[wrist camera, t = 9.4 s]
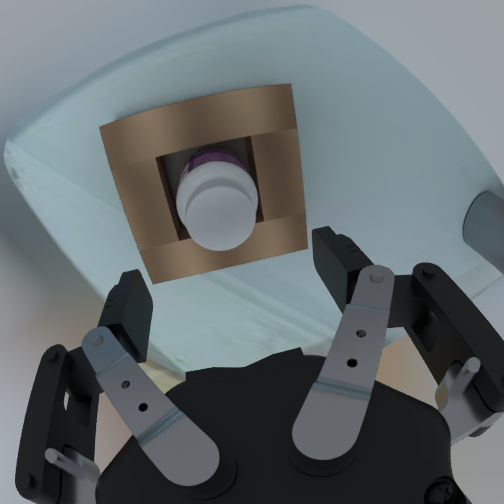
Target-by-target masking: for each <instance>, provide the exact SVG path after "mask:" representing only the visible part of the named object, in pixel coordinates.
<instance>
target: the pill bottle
mask: <svg viewBox="0 0 504 504" xmlns="http://www.w3.org/2000/svg"><path fill="white" fill-rule="evenodd" d="M176 205H177V211H178V215H179V217H180V219H181V221H182V223H183V224H184V225H185V227H186V228H187V231H188V233H189V235H190V236H191V238H192V239H193V240H194V241H195V242H196V243H197V244H199V245H200V246H202V247H204V248H206V249H209V250H214V251H225V250H229V249H233V248H235V247H237V246H239V245H240V244H242V243H243V242H244V241H245V240H246V239H247V238H248V237H249V236H250V234H251V233H252V231H253V228H254V225H255V220H256V210H257V205H258V195H257V190H256V186H255V184H254V182H253V180H252V178H251V177H250V175H249V174H248V172H247V171H246V169H245V168H244V166H243V165H242V163H241V162H240V160H239V159H238V158H237V156H236V155H235V154H234V153H232V152H231V151H229V150H227V149H225V148H222V147H218V146H209V147H205V148H202V149H199V150H197V151H196V152H194V153H193V154H192V155H191V156H190V157H189V158H188V159H187V161H186V162H185V164H184V167H183V170H182V173H181V177H180V182H179V187H178V192H177V198H176Z"/></svg>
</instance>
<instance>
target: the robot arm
mask: <svg viewBox="0 0 504 504" xmlns="http://www.w3.org/2000/svg"><path fill="white" fill-rule="evenodd" d="M463 235H464V240H465V242H466V243H467V244H468V245H469V246H470V247H472V248H473V249H474V250H475V251H477V252H478V253H479V254H480V255H481V256H483V257H484V258H485V259H486V260H487V261H489V262H490V263H491V264H492V265H493V266H494V267H496V268H497V269H498V270H499V271H500V272H501V273H502V274H504V200H503V199H501V198H499V197H497V196H496V195H494V194H492V193H490V192H484V193H482V194H481V195H480V196H478V197H477V198H476V200H475V201H474V202H473V204H472V206H471V207H470V209H469V211H468V214H467V217H466V220H465V224H464V230H463ZM312 244H313V260H314V265H315V268H316V271H317V272H318V274H319V276H320V277H321V279H322V281H323V282H324V284H325V286H326V287H327V289H328V290H329V292H330V294H331V295H332V297H333V299H334V300H335V302H336V304H337V306H338V307H339V309H340V311H341V312H342V314H343V316H342V318H341V321H340V324H339V327H338V329H337V332H336V335H335V337H334V340H333V343H332V345H331V348H330V350H329V353H328V355H327V357H324V356H318V355H303V352H302V350H301V347H299V348H295V349H291V350H288V351H284V352H280V353H276V354H272V355H270V356H268V357H266V358H264V359H261V360H259V361H257V362H255V363H253V364H250V365H248V366H246V367H241V368H230V367H212V368H206V369H201V370H195V371H189V372H186V381H184V382H182V383H180V384H178V385H176V386H175V387H173V388H171V389H170V390H169V391H168V392H166V393H165V394H164V393H163V392H162V391H161V390H160V389H159V388H158V387H157V386H156V385H155V384H154V382H153V381H152V380H151V379H150V378H149V377H148V376H147V374H146V373H145V372H144V371H143V370H142V369H141V367H140V366H139V365H138V364H137V363H142V362H146V357H147V349H148V341H149V333H150V326H151V319H152V312H153V301H152V297H151V295H150V293H149V290H148V288H147V286H146V284H145V281H144V279H143V277H142V275H141V272H140V271H139V270H138V269H136V270H131V271H127V272H123V273H122V275H121V278H120V281H119V283H118V285H115V286H114V287H113V288H112V290H111V291H110V292H109V294H108V297H107V299H106V302H105V305H104V308H103V311H102V314H101V317H100V320H99V323H98V326H97V327H96V328H94V329H92V330H90V331H89V332H88V333H87V334H86V335H85V336H84V338H83V340H82V344H81V345H82V346H81V347H78V348H76V349H74V350H71V351H69V352H68V351H67V350H66V349H65V347H64V346H63V345H59V344H57V345H54V346H52V347H50V348H49V349H47V350H46V352H45V353H44V354H43V356H42V358H41V362H40V364H39V367H38V371H37V374H36V377H35V381H34V384H33V388H32V391H31V395H30V399H29V403H28V407H27V411H26V415H25V419H24V425H23V429H22V434H21V440H20V445H19V452H18V458H17V465H16V474H15V484H16V488H17V490H18V492H19V494H20V495H22V497H24V498H26V499H28V500H30V501H32V502H34V503H37V504H472V503H471V502H470V500H469V499H468V498H467V497H466V496H465V495H464V493H463V492H462V491H461V489H460V488H459V487H458V485H457V484H456V482H455V480H454V477H453V473H452V468H451V459H450V458H451V454H450V451H451V446H452V445H453V444H455V443H457V442H458V441H460V440H462V439H464V438H465V437H467V436H470V437H476V436H480V435H481V434H483V433H484V432H485V431H486V430H487V429H488V428H489V427H491V426H492V425H493V424H494V423H495V422H496V421H497V420H498V419H499V418H500V417H501V416H502V415H503V414H504V341H503V339H502V338H501V337H500V335H499V334H498V333H497V332H496V331H495V329H494V328H493V326H492V325H491V324H490V323H489V321H488V320H487V319H486V318H485V317H484V315H483V314H482V313H481V312H480V311H479V309H478V308H477V307H476V306H475V305H474V304H473V302H472V301H471V300H470V299H469V298H468V297H467V296H466V294H465V293H464V292H463V291H462V290H461V289H460V288H459V287H458V286H457V284H456V283H455V282H454V281H453V280H452V279H451V278H450V277H449V276H448V275H447V274H446V273H445V272H444V271H443V270H442V269H441V268H440V267H439V266H437V265H435V264H432V263H419V264H417V265H416V266H415V267H414V268H413V273H412V275H394V273H393V272H392V271H391V270H390V269H389V268H387V267H384V266H381V265H374V264H373V263H372V261H371V260H370V259H369V258H368V257H367V256H366V255H365V254H364V253H363V251H362V250H360V248H359V247H358V246H357V245H356V244H355V243H354V242H353V241H352V240H351V239H350V238H349V237H347V236H345V235H342V234H339V235H336V234H335V232H334V231H333V230H332V229H331V228H330V227H329V226H326V227H321V228H317V229H313V230H312ZM435 316H436V317H435ZM437 319H438V320H437ZM394 327H404V329H405V330H406V332H407V333H408V335H409V337H410V338H411V340H412V341H413V343H414V345H415V346H416V348H417V350H418V351H419V353H420V355H421V356H422V358H423V360H424V361H425V363H426V365H427V366H428V368H429V370H430V372H431V373H432V375H433V377H434V379H435V380H436V382H437V384H438V388H437V390H436V393H435V399H436V403H437V406H438V410H437V409H436V408H434V407H433V406H431V405H429V404H427V403H424V402H422V401H420V400H417V399H415V398H413V397H411V396H409V395H407V394H404V393H402V392H400V391H398V390H396V389H393V388H391V387H389V386H387V385H385V384H382V383H380V382H379V381H376V380H375V377H376V373H377V370H378V366H379V362H380V357H381V353H382V349H383V344H384V339H385V335H386V330H387V328H394ZM65 392H67V393H68V394H69V398H68V405H67V410H65V407H64V397H65ZM103 392H105V394H106V395H107V397H108V398H109V400H110V401H111V403H112V404H113V406H114V408H115V409H116V411H117V412H118V413H119V415H120V416H121V418H122V419H123V421H124V422H125V424H126V425H127V426H128V428H129V429H130V431H131V432H132V433H133V435H132V436H131V437H130V438H129V440H128V441H127V442H126V444H125V445H124V446H123V447H122V449H121V450H120V451H119V452H118V454H117V455H116V456H115V457H114V459H113V460H112V461H111V462H110V464H109V465H108V466H107V467H106V469H105V470H104V471H103V472H102V474H101V475H100V470H99V468H98V466H97V465H96V464H95V463H94V453H95V434H96V422H97V411H98V402H99V394H100V393H103Z"/></svg>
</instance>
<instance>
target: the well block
mask: <svg viewBox="0 0 504 504" xmlns="http://www.w3.org/2000/svg"><path fill="white" fill-rule="evenodd" d="M99 129H100V133H101V136H102V140H103V144H104V148H105V151H106V155H107V158H108V162H109V165H110V168H111V172H112V175H113V178H114V181H115V185H116V188H117V191H118V194H119V197H120V200H121V203H122V206H123V209H124V212H125V214H126V217H127V220H128V223H129V226H130V228H131V231H132V234H133V236H134V239H135V242H136V244H137V247H138V249H139V252H140V255H141V257H142V260H143V262H144V265H145V267H146V269H147V272H148V274H149V277H150V279H151V281H152V284H157V283H162V282H166V281H170V280H175V279H179V278H184V277H188V276H192V275H197V274H201V273H206V272H210V271H214V270H219V269H223V268H227V267H232V266H236V265H240V264H244V263H249V262H253V261H257V260H262V259H266V258H270V257H274V256H279V255H283V254H287V253H291V252H295V251H300V250H304V249H308V242H307V227H306V214H305V201H304V190H303V179H302V169H301V159H300V150H299V141H298V133H297V125H296V117H295V109H294V102H293V95H292V88H291V84H281V85H271V86H263V87H255V88H248V89H242V90H236V91H230V92H224V93H219V94H213V95H208V96H204V97H199V98H194V99H190V100H186V101H182V102H177V103H174V104H170V105H166V106H162V107H159V108H155V109H151V110H148V111H145V112H141V113H138V114H135V115H132V116H129V117H126V118H123V119H120V120H117V121H114V122H111V123H108V124H106V125H103V126H100V127H99ZM209 146H218V147H222V148H225V149H227V150H229V151H231V152H232V153H234V154H235V155H236V156H237V158H238V159H239V160H240V162H241V163H242V165H243V166H244V168H245V169H246V171H247V172H248V174H249V175H250V177H251V178H252V180H253V182H254V184H255V186H256V190H257V195H258V205H257V210H256V220H255V225H254V228H253V231H252V233H251V234H250V236H249V237H248V238H247V239H246V240H245V241H244V242H243V243H242V244H240V245H239V246H237V247H235V248H233V249H229V250H225V251H214V250H209V249H206V248H204V247H202V246H200V245H199V244H197V243H196V242H195V241H194V240H193V239H192V238H191V236H190V235H189V233H188V231H187V228H186V227H185V225H184V224H183V223H182V221H181V219H180V217H179V215H178V211H177V205H176V198H177V192H178V187H179V182H180V177H181V173H182V170H183V167H184V164H185V162H186V161H187V159H188V158H189V157H190V156H191V155H192V154H193V153H194V152H196V151H197V150H199V149H202V148H205V147H209Z"/></svg>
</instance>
